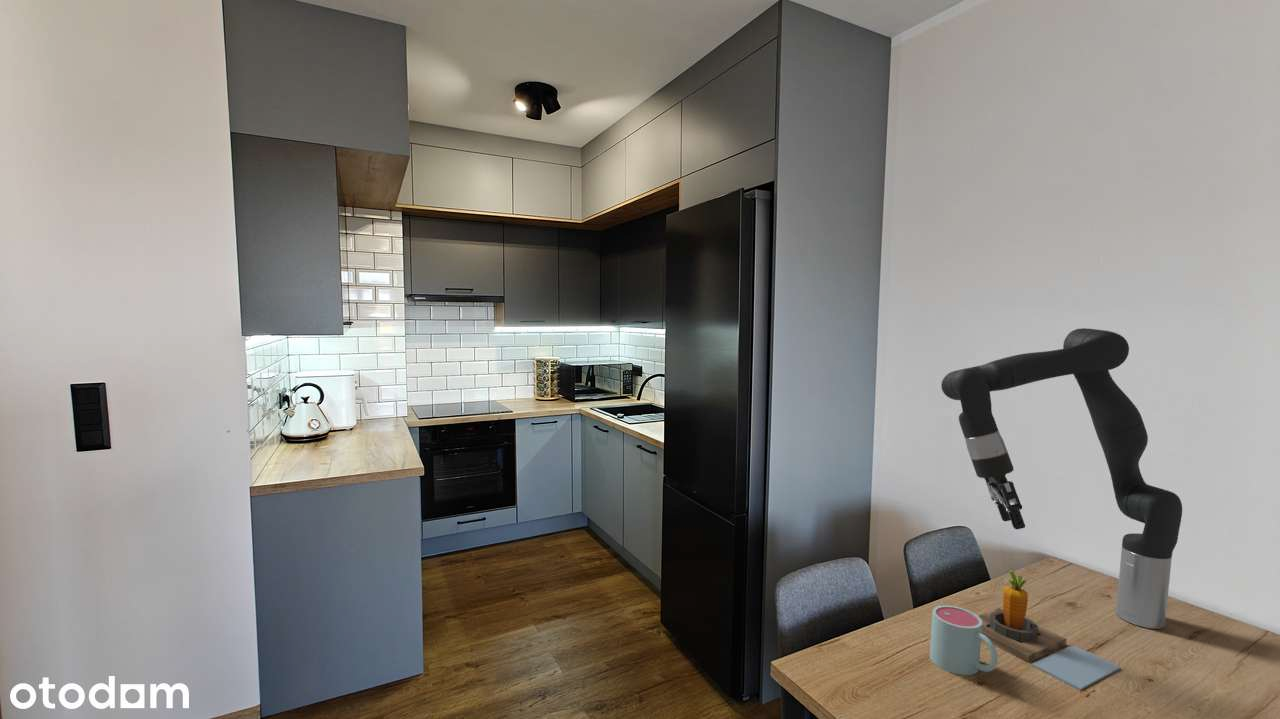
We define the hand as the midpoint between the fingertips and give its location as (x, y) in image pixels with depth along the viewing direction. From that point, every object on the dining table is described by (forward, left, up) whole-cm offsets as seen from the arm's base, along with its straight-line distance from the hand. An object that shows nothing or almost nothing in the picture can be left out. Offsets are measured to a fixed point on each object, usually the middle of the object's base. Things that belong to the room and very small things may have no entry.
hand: (1013, 524), depth 131 cm
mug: (+19, +3, -27) cm, 33 cm away
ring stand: (-3, 0, -27) cm, 27 cm away
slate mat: (-3, +13, -27) cm, 30 cm away
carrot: (-3, 0, -27) cm, 27 cm away
